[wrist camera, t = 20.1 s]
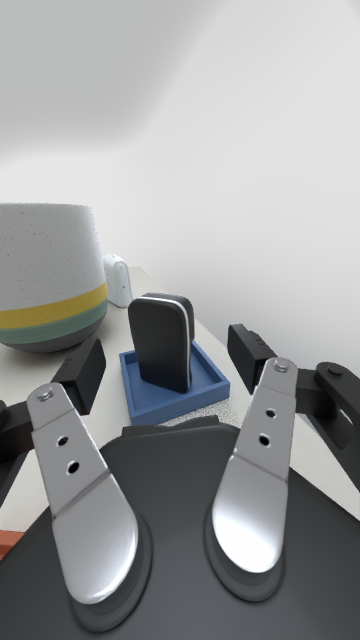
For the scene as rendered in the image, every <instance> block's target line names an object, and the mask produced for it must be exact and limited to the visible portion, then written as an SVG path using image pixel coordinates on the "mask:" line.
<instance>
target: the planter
mask: <svg viewBox="0 0 360 640" xmlns="http://www.w3.org/2000/svg"><path fill="white" fill-rule="evenodd" d="M107 301H108V296H107V284H106V278H105V272H104V267H103V261H102V256H101V251H100V247H99V242H98V237H97V232H96V228H95V223H94V218H93V214H92V210H91V208H90V207H88V206H82V205H71V204H47V203H0V343H2V344H4V345H6V346H9V347H12V348H15V349H19V350H23V351H29V352H53V351H58V350H62V349H66V348H69V347H71V346H74V345H76V344H78V343H80V342H82V341H83V340H85V339H86V338H88V337H89V336H90V335H91V334H92V333H93V332H94V331H95V330H96V329H97V328H98V326H99V325H100V324H101V322H102V320H103V318H104V316H105V313H106V309H107Z"/></svg>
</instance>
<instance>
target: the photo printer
mask: <svg viewBox="0 0 360 640" xmlns="http://www.w3.org/2000/svg"><path fill="white" fill-rule="evenodd" d="M102 261H103V267H104V272H105V278H106V284H107V296H108V300H109V301H111V302H112V303H114V304H115V305H117V306H119V307H122V308H125V307H129V304H130V303H131V302H132V300H133V298H132V291H131V285H130V279H129V273H128V267H127V265H126V263H125V262H124V261H123V260H122V259H121V258H120V257H118V256H116V255H113V254H109V255H104V256H102Z"/></svg>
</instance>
